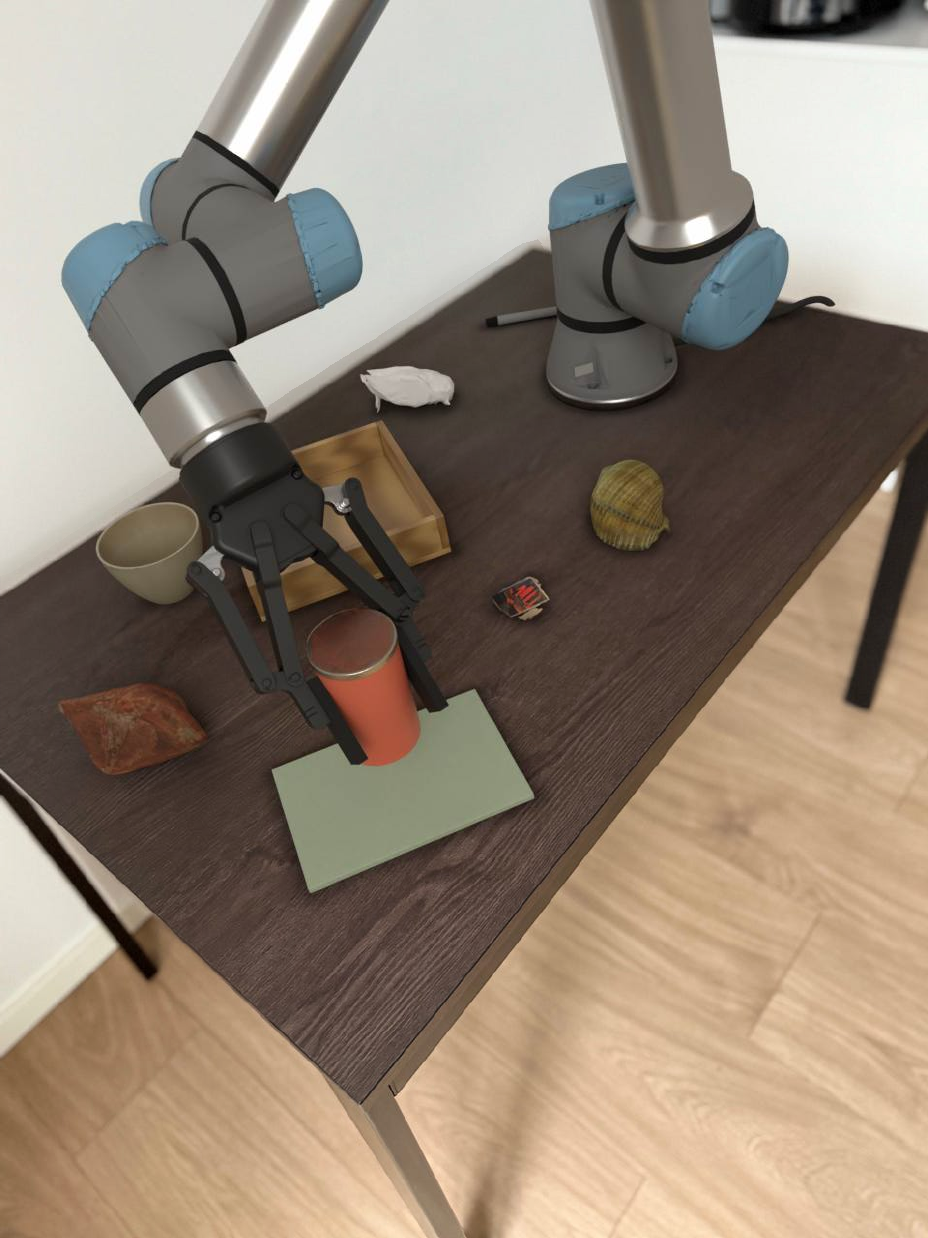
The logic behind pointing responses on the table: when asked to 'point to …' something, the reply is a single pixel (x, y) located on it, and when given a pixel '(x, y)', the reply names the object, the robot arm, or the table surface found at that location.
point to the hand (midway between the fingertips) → (399, 734)
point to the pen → (521, 316)
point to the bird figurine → (409, 386)
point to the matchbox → (521, 598)
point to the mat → (398, 793)
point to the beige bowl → (153, 550)
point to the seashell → (628, 506)
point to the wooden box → (388, 497)
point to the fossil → (133, 726)
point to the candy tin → (367, 681)
